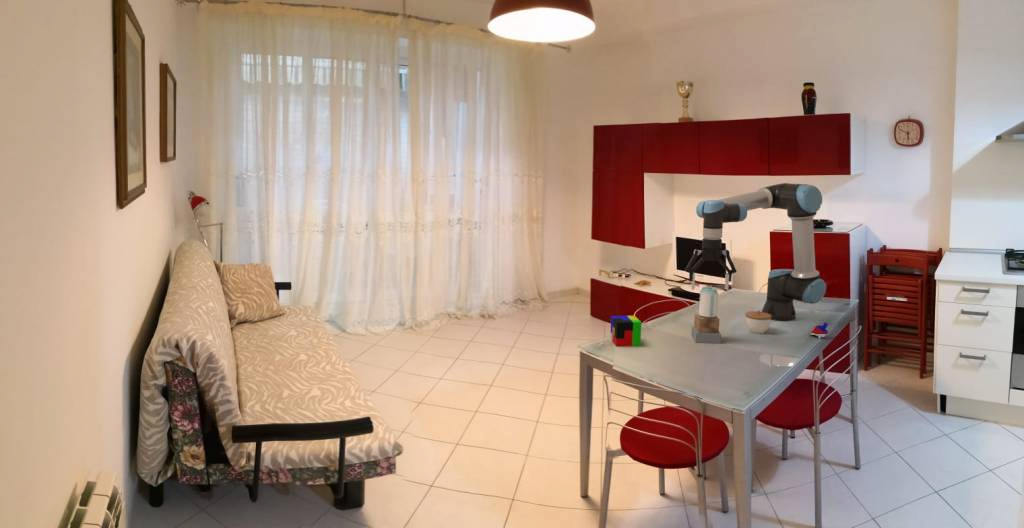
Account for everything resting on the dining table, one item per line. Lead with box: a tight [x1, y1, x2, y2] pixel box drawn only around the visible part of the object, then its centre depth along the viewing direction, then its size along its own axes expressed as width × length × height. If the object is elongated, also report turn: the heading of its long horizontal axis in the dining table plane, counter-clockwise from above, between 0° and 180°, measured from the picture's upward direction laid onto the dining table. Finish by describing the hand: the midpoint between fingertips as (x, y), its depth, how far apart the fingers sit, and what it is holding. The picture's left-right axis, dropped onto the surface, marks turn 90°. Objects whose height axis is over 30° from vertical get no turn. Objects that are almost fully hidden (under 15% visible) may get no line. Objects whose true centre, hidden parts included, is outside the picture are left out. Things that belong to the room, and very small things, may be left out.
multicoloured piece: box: [810, 322, 829, 335], centre depth 265 cm, size 4×4×8 cm
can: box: [698, 286, 719, 318], centre depth 259 cm, size 7×7×12 cm
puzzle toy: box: [609, 315, 642, 347], centre depth 257 cm, size 10×10×10 cm
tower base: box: [690, 326, 722, 344], centre depth 262 cm, size 10×10×4 cm
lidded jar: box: [744, 310, 772, 334], centre depth 273 cm, size 11×11×9 cm
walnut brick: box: [693, 313, 720, 333], centre depth 261 cm, size 8×8×6 cm
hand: (709, 289), depth 258 cm, fingers open, 13 cm apart
